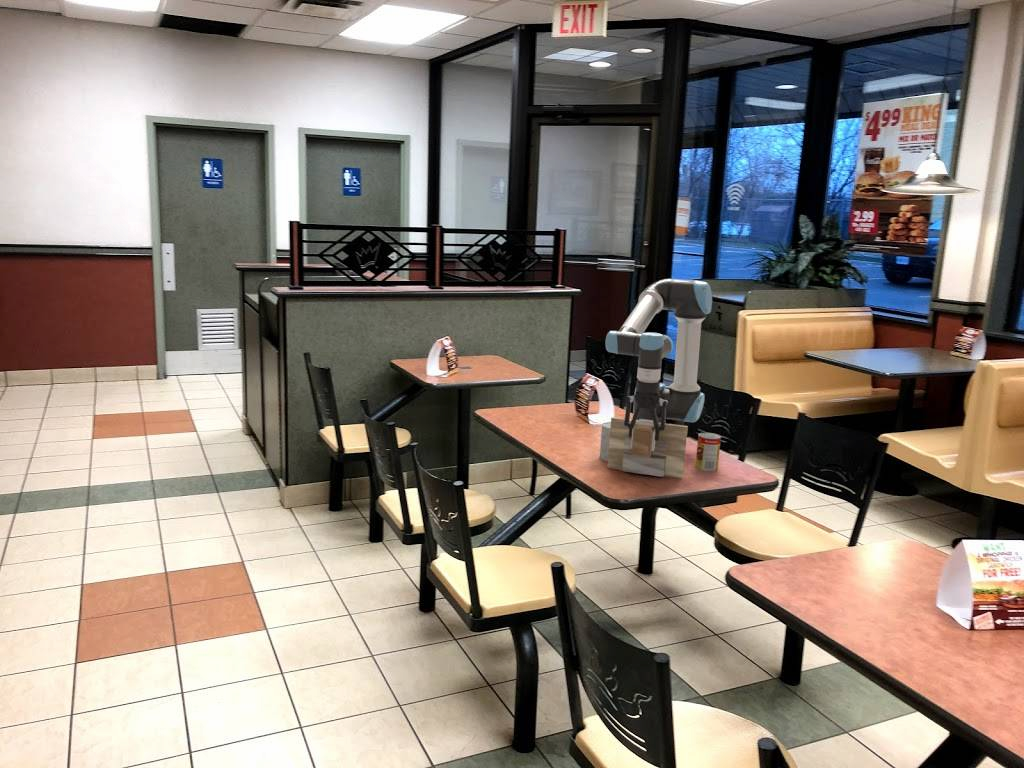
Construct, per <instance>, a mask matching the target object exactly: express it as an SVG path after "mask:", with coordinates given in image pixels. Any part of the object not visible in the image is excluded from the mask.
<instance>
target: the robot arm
mask: <svg viewBox="0 0 1024 768" xmlns="http://www.w3.org/2000/svg"><path fill="white" fill-rule="evenodd" d="M637 301H638V302H637V304H636V306H635V307H634V308H633V309H632V311H631V312H630V314H629V315H628V317H627V318H626V320H625V321H624V323H623V324H622V326H621V327H620V328H619V330H609V332H607V334H606V336H605V337H606V338H605V349H606V351H607V352H608V353H612V354H616V355H626V356H635V357H638V360H637V361H638V362H637V363H638V364H637V374H636V378H637V380H636V386H635V390H634V395H627V396H626V398H625V400H626V401H625V402H626V408H625V414H624V418H625V421H624V425H625V426H627V427H629V437H630V438H632V441H633V428H634V425H635V422H636V420H639V419H644V420H652V421H653V423H654V427H655V430H654V431H653V435H652V447H651V451H654V449H655V441H658V439H659V431H661V430H664V429H665V426H666V424H667V423H666V422H667V421H666V420H672V421H679V422H684V423H685V422H687V423H695V422H697V421H698V420H699V419H700V416H701V415H702V411H703V409H704V404H705V393H703V392H701V386H700V385H699V384H698V383H697V382H698V372H699V369H698V368H699V361H700V360H699V358H700V346H701V331H702V322H703V321H704V320H705V319H706V317H707V315H709V314H710V313H711V312H712V306H713V292H712V289H711V286H710V284H709V283H708V282H706V281H701V280H693V279H692V280H691V279H679V278H677V279H676V278H675V279H674V278H664V279H660V280H657V281H655V282H653V283H651V284H650V285H648V286H647V287H646V288H645V289H644V290H643V291H642V292H641V293H640V294H639V296H638V300H637ZM662 310H665V311H674V315H673V317H674V318H675V319H676V320H677V329H676V330H677V332H676V347H675V361H674V376H673V382H671V384H669V388H666V387H667V386H666V384H665V383H662V382H660V380H661V372H662V363H663V362H662V360H663V359H664V358H666V357H668V356H669V355H670V354H671V353H672V352H673V350H674V342H673V340H672V338H671V337H670V336H668V335H666V334H661V333H658V332H645V331H646V329H647V328H648V326H649V324H650V323H651V322H652V320H653V319H654V317H655V316H656V314H659V313H660V312H661V311H662ZM632 403H633V409H632ZM631 411H632V421H631V423H630V422H629V419H630V417H631ZM659 423H661V426H659ZM632 441H631V448H632Z"/></svg>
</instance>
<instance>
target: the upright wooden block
mask: <svg viewBox="0 0 1024 768" xmlns="http://www.w3.org/2000/svg"><path fill="white" fill-rule="evenodd" d="M654 430H655V427H654V423H653V421H652V420H644V419H639V421H637V423H636V424H635V425H634V428H633V441H632V453H631V456H635V457H643V458H650V457H651V455H652V453H653V451H651V447H652V435H653V431H654Z"/></svg>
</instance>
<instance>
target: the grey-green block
mask: <svg viewBox="0 0 1024 768" xmlns="http://www.w3.org/2000/svg"><path fill="white" fill-rule="evenodd" d="M610 428H611V421H610V422H609V421H608V422H603V423H601V432H600V433H601V434H600V448H599V456H598V457H599V459H600V460H601V461H605V462H608V454H609V441H610Z"/></svg>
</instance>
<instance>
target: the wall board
mask: <svg viewBox="0 0 1024 768" xmlns="http://www.w3.org/2000/svg"><path fill="white" fill-rule="evenodd" d="M624 421H625V417H624V418H622V417H614V416H611V418H610V422H611V428H610V441H609V454H608V461H607V469H612V470H613V469H614V470H621V471H622V472H627V473H633V474H640V475H648V476H649V475H650V476H655V477H662V478H663V477H670V478H671V477H672V478H676V479H677V478H678V479H683V478H684V470H685V460H686V449H687V438H688V437H687V436H688V427H689V426H688V425H681V424H673V423H666V426H665V429H664V430H661V431H659V439H658V441H655V449H654V451H653V453H652V455H651V457H650V458H643V457H635V456H631V453H632V448H631V441H632V438H630V437H629V427H627V426H625V425H624ZM631 421H632V419H629V422H630V423H631ZM637 421H639V420H636V422H635V424H636V423H637ZM659 426H661V423H659Z"/></svg>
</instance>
